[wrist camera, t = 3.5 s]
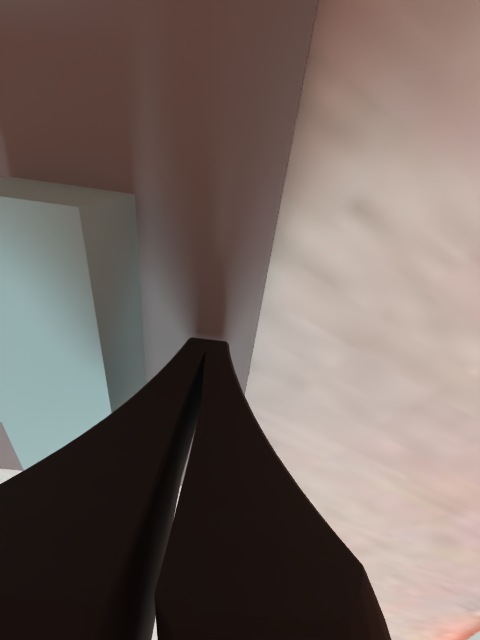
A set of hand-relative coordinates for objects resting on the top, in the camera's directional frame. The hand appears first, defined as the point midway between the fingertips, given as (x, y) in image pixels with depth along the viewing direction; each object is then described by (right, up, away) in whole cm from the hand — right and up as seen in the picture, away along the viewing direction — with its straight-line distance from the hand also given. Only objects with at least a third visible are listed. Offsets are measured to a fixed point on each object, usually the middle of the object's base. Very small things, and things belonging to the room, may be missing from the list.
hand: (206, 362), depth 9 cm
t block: (-7, +1, +1) cm, 7 cm away
